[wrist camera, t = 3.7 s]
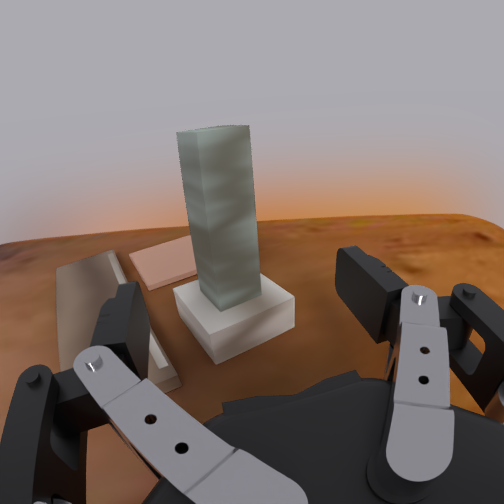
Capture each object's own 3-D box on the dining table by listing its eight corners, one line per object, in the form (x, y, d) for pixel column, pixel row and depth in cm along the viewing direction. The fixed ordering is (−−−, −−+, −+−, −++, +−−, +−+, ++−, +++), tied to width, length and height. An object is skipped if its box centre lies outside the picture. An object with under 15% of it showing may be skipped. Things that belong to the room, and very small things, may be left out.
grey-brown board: (75, 425, 13) (67, 415, 13) (59, 276, 30) (56, 268, 29) (182, 386, 17) (178, 374, 16) (115, 257, 33) (113, 249, 32)
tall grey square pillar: (216, 364, 18) (177, 137, 12) (179, 316, 23) (145, 137, 17) (294, 326, 21) (289, 123, 15) (247, 289, 25) (232, 123, 20)
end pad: (148, 290, 26) (147, 286, 26) (130, 258, 32) (129, 254, 32) (228, 262, 30) (228, 258, 30) (195, 237, 36) (195, 233, 36)
